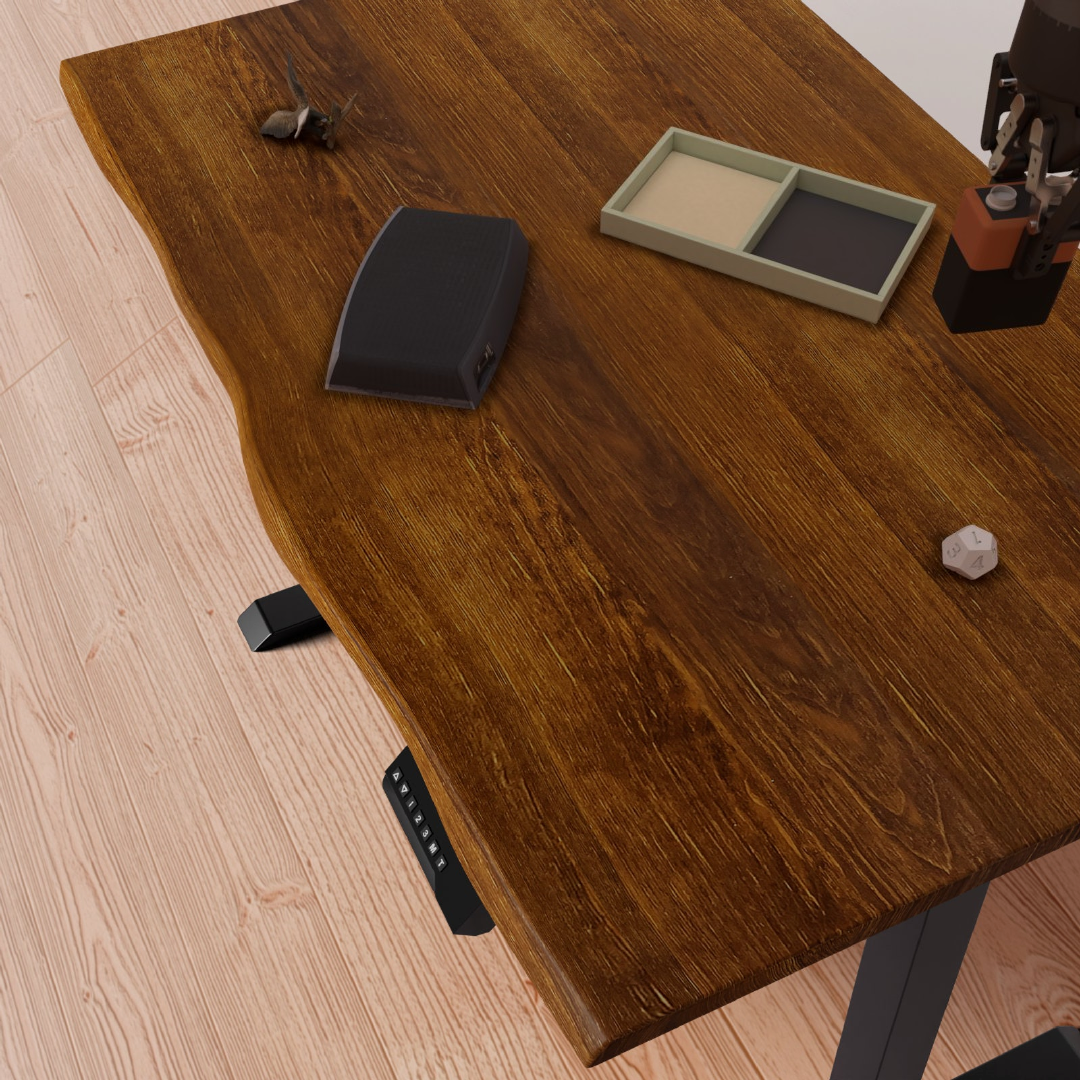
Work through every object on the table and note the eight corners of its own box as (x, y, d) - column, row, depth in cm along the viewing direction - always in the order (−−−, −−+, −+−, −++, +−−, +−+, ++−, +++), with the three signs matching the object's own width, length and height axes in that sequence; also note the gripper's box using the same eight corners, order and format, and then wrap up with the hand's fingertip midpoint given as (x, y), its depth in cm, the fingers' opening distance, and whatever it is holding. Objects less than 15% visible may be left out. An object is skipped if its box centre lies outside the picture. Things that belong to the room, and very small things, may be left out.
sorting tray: (928, 232, 98) (937, 204, 95) (874, 329, 90) (882, 301, 88) (668, 153, 105) (671, 125, 103) (599, 237, 98) (600, 210, 95)
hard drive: (315, 393, 87) (305, 353, 84) (387, 232, 98) (381, 191, 95) (485, 417, 85) (482, 377, 82) (538, 251, 97) (537, 209, 93)
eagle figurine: (374, 114, 107) (302, 67, 109) (346, 77, 100) (268, 28, 102) (328, 183, 108) (256, 135, 110) (296, 151, 101) (220, 101, 103)
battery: (1047, 327, 78) (1100, 204, 70) (949, 338, 78) (991, 215, 70) (1023, 285, 81) (1071, 161, 73) (928, 295, 81) (966, 172, 73)
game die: (983, 543, 77) (997, 515, 75) (997, 589, 75) (1011, 561, 73) (930, 544, 77) (942, 516, 75) (942, 589, 75) (955, 562, 73)
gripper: (1241, 54, 58) (1114, 316, 71) (1110, -79, 66) (1020, 177, 80) (1097, 71, 57) (997, 331, 71) (984, -66, 66) (915, 190, 79)
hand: (1009, 248), depth 75 cm, fingers closed on battery, 4 cm apart
